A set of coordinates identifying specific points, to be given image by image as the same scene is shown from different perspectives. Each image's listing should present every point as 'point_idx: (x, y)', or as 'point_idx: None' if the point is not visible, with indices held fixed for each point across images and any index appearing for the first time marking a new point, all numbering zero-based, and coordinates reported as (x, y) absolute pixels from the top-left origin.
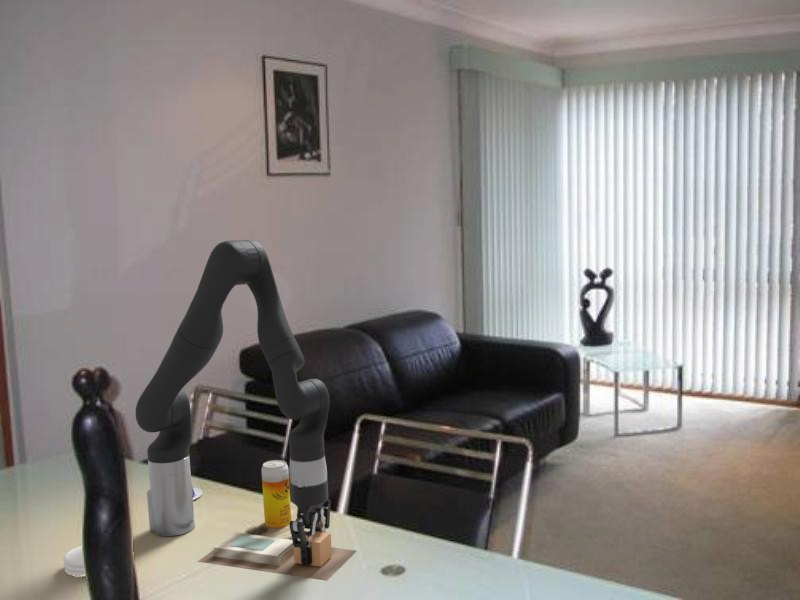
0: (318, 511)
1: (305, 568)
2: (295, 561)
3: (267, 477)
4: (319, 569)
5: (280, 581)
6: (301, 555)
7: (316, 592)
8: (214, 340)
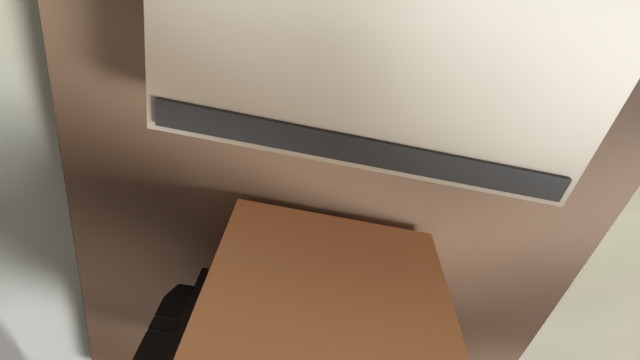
0: None
1: (194, 271)
2: (235, 212)
3: None
4: None
5: (37, 128)
6: (144, 337)
7: (20, 335)
8: None
